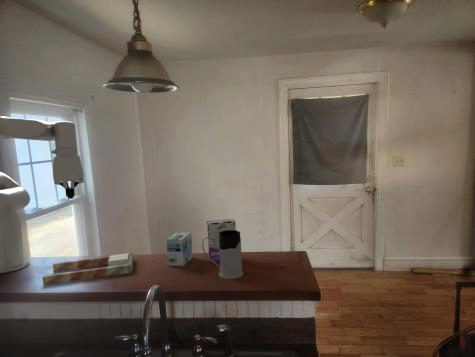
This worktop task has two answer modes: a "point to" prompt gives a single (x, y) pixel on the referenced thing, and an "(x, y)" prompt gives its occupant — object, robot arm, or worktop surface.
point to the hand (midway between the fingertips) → (70, 198)
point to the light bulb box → (179, 249)
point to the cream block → (118, 259)
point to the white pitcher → (229, 254)
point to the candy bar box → (217, 236)
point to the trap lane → (86, 273)
